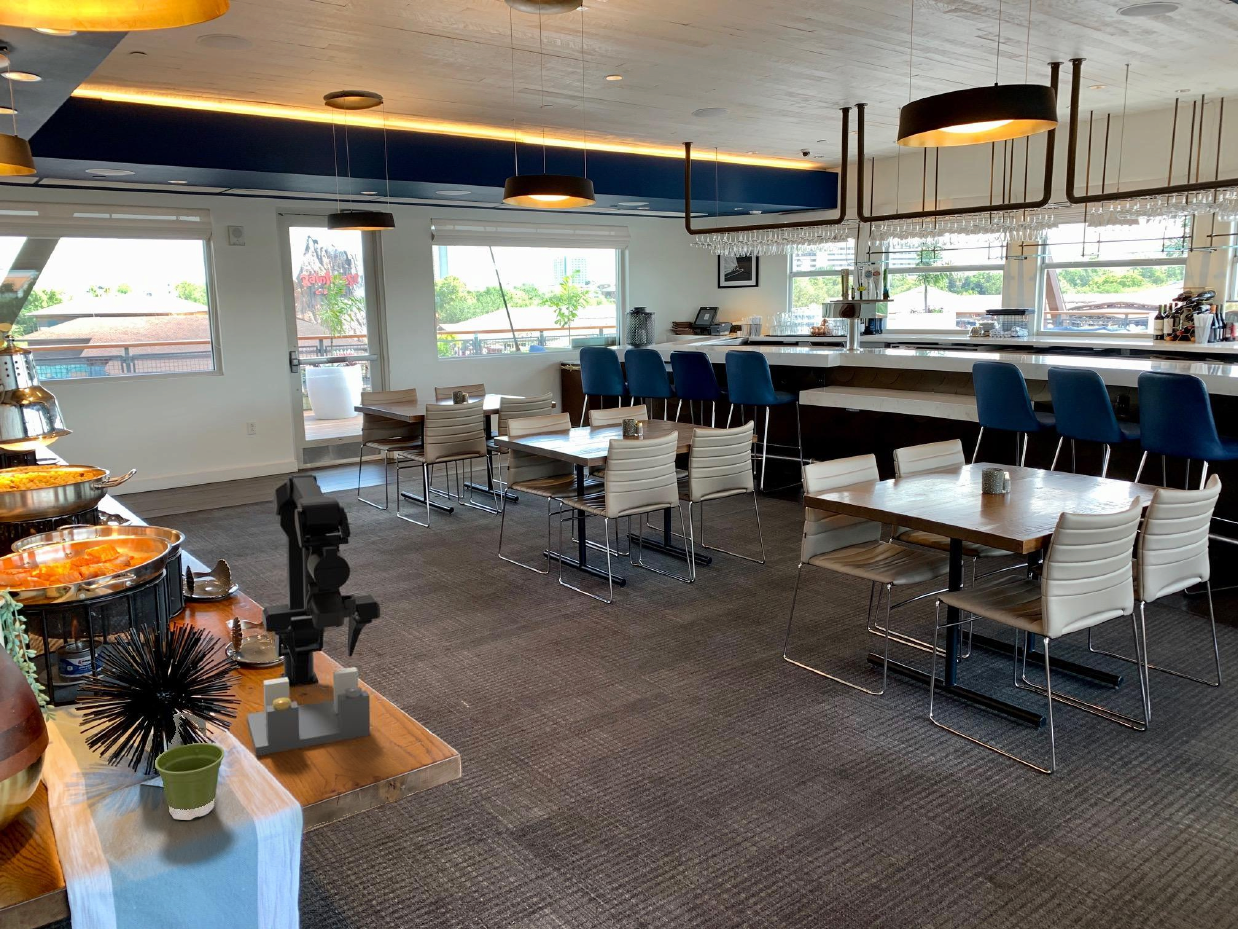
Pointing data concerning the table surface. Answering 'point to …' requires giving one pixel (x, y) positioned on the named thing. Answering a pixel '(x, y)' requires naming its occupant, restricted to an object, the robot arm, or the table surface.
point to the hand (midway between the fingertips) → (322, 660)
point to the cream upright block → (343, 682)
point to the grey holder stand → (310, 722)
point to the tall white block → (275, 691)
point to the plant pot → (190, 774)
